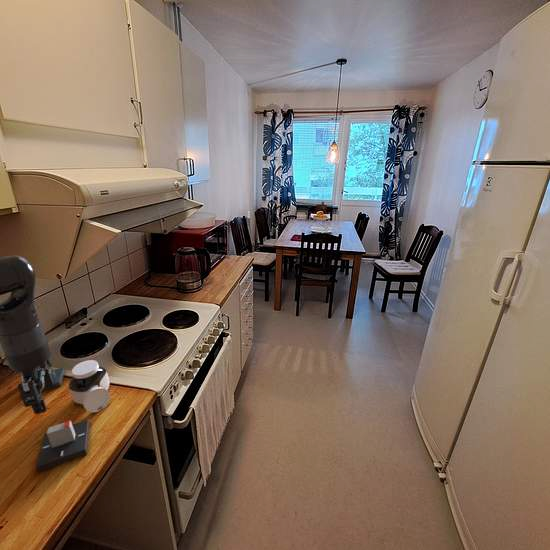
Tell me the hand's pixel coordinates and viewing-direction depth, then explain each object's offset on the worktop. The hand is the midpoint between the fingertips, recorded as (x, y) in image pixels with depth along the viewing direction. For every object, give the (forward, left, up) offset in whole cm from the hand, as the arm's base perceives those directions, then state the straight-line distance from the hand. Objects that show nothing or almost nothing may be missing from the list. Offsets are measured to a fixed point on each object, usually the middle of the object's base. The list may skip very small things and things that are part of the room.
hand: (45, 399), depth 70 cm
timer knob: (+1, -2, -13) cm, 14 cm away
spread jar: (+7, +13, -16) cm, 22 cm away
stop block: (-8, +28, -16) cm, 33 cm away
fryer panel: (+1, -2, -16) cm, 16 cm away
